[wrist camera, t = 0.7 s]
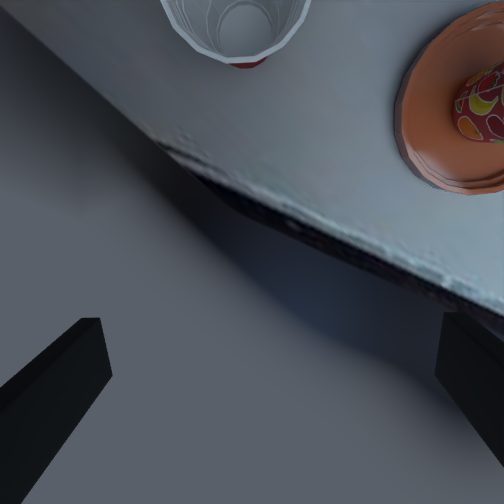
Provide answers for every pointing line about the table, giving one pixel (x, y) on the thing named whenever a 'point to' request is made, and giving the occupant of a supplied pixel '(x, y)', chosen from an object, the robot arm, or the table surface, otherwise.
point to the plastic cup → (237, 27)
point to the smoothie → (482, 106)
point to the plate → (450, 106)
